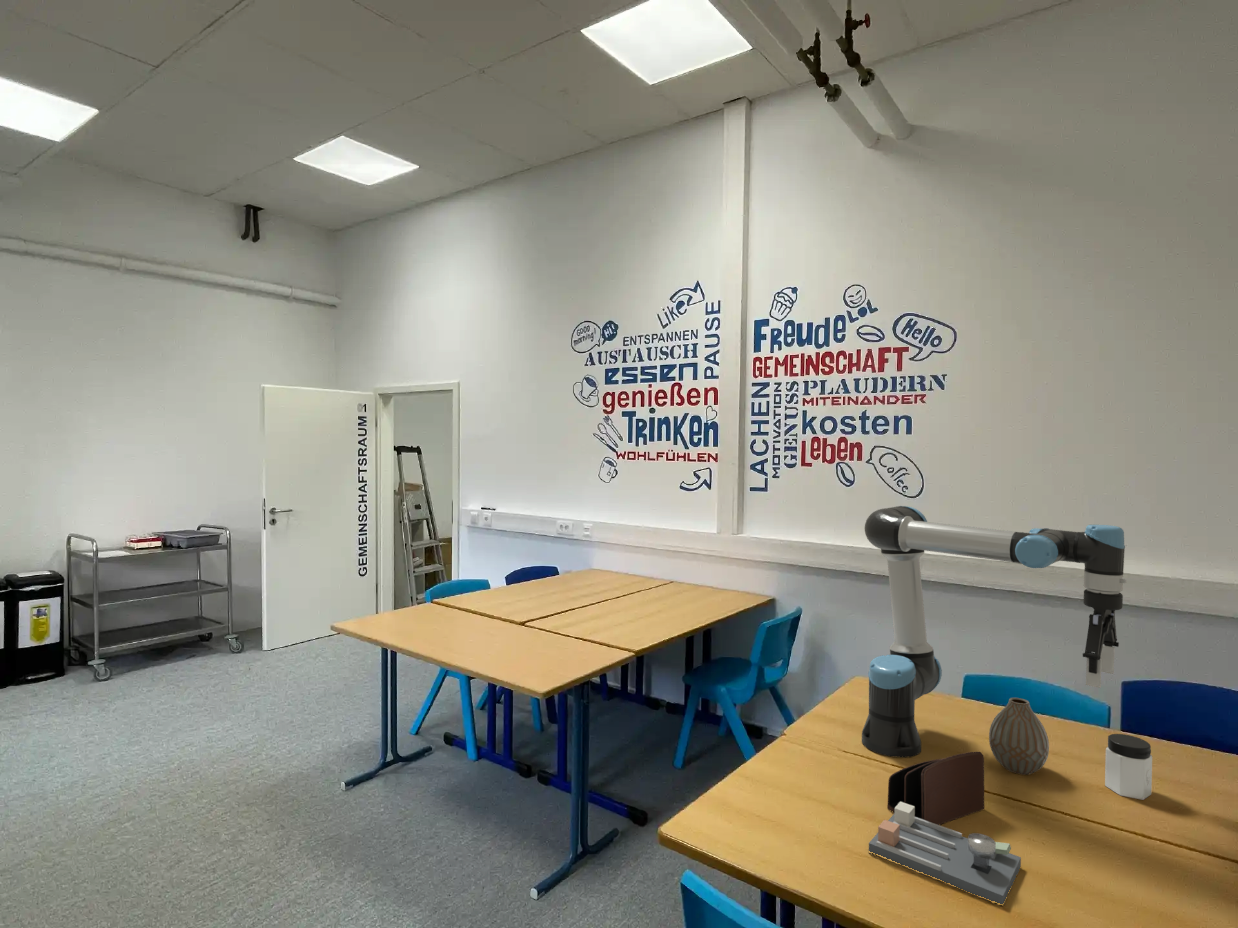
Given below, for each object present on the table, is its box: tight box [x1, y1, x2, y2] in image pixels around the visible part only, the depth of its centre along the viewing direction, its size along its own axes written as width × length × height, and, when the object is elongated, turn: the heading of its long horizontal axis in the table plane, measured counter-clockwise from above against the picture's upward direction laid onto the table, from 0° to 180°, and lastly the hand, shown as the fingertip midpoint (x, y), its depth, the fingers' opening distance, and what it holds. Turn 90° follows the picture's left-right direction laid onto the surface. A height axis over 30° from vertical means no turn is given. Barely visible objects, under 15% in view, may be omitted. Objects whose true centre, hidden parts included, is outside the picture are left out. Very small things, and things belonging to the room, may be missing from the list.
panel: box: [868, 813, 1022, 904], centre depth 133 cm, size 24×15×4 cm, turn 49°
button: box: [967, 832, 996, 869], centre depth 128 cm, size 5×5×5 cm
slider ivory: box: [893, 802, 915, 827], centre depth 142 cm, size 3×4×3 cm
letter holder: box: [886, 751, 986, 826], centre depth 152 cm, size 10×20×14 cm, turn 116°
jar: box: [1104, 733, 1153, 801], centre depth 160 cm, size 9×8×12 cm
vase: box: [988, 697, 1050, 776], centre depth 171 cm, size 13×13×18 cm
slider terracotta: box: [877, 819, 900, 847], centre depth 135 cm, size 3×4×3 cm
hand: (1100, 679), depth 160 cm, fingers open, 13 cm apart
